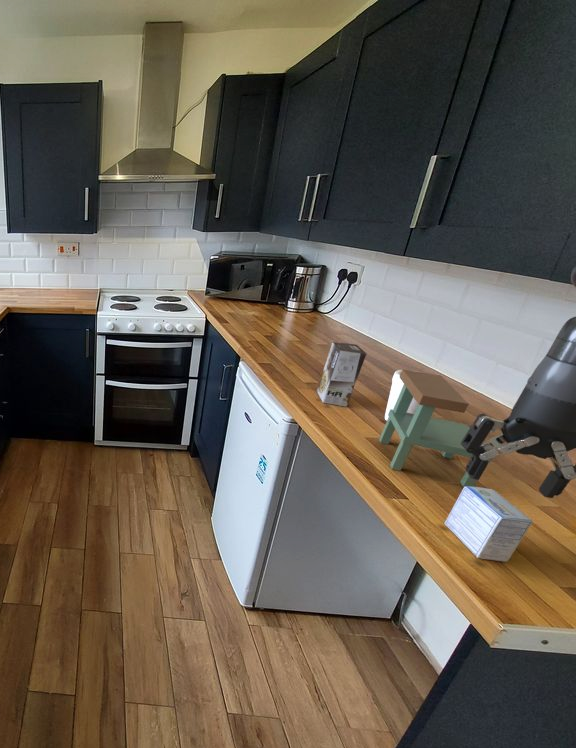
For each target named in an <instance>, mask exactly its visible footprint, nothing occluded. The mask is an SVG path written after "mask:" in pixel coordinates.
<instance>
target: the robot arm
mask: <svg viewBox="0 0 576 748" xmlns="http://www.w3.org/2000/svg"><path fill="white" fill-rule="evenodd" d="M570 279H571V280H570V281H571V284H572V286H573V287H574V288H575V289H576V264H575V265H574V267H573V268H572V271H571V274H570ZM469 428H470V429H469V430H468V432H467V434H466V435H465V437H464V438H463V440H462V441H461V444H462V446H463V447H464V448H465V450H466V451H467V452H468V453H471V454H472V456H471V458H470V457H469V460H468V462H467V464H466V465H465V472H466V471H467V472H468V475H469V476H470V477H471V479H475V480H478V481H479V480H480V479H481V477H482V475H483V473H484V472H485V470H486V468H487V467H488V465H489V463H490V462H489V461H488V460H489V459H491V458H493V459H494V458H496V457H499V456H506V455H509V454H511V453H514V452H516V453H517V454H520V455H525V456H534V457H536V458H539V459H544V460H547V459H550V461H551V463H552V465H553V467H554V469H555V470H549V472H548V474H547V475H546V477H545V478H544V479H543V481H542V483H541V485H540V486H539V488H538V491H539V493H540V494H541V495H542V496H543V497H545V498H548V499H553V498H554V497H555V496H556V497H558V496H560V495H561V494H562V493H563V491H565V488H566V487H567V485H568V484H569V483H570V481H572V480H575V479H576V463H574V464H573V462H572V460H571V458H570V455H569V453H568V452H569V451H572V450H574V449H576V316H573V317H571V318H569V319H568V320H567V321H566V322H565V323H564V324H563V325H562V327H561V328H560V330H559V332H558V333H557V334H556V337H555V338H554V340H553V343H552V344H551V346H550V347H549V349H548V351H547V353H546V354H545V356H544V357H543V358H542V360H541V361H540V362H539V364H538V365H536V367H535V369H534V370H533V372H532V374H531V375H530V377H528V378H527V381H526V384H525V385H524V387H523V389H522V391H521V393H520V395H519V396H518V398H517V400H516V402H515V403H514V405H513V407H512V409H511V411H510V414H509V416H508V417H506V418H504V420H501V419H497V418H492V417H489V416H488V415H487V414H486V413H480V414H478V415H477V416H476V418H475V420H474V421H473V422H472V424H471V426H469ZM499 429H500V431H501V433H499V434H497V435H495V436H493V437H490V438H489V439H488V440H487V441H485V440H486V438H487V437H488V436H489V434H490V433H491V434H492V433H495V432H496V431H497V430H499ZM484 441H485V442H484ZM482 443H483V444H482ZM504 443H505V444H504Z"/></svg>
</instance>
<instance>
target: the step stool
mask: <svg viewBox="0 0 576 748" xmlns="http://www.w3.org/2000/svg"><path fill="white" fill-rule="evenodd" d="M401 370H402V372H401V374H400V377H399V378H400V379H401V380H402V382H403V383H404V385H403V387H402V390H401V392H400V394H399V397H398V399H397V402H396V404H395V406H394V409H393V410H391V409H390V411H389V414H388V416H389V417H388V419H387V421H386V422H385V424H384V427H383V429H382V431H381V434H380V436H379V439H378V441H379V443H380V444H384V445H389V444H390V441H391V439H392V437H393V435H394V432H395V431H396V433H397V435H398V437H399V439H400V442H399V444H398V446H397V448H396V451H395V453H394V455H393V458H392V459H391V462H390V464H389V465H390V469H391V470H394V471H398V472H401V471H402V468H403V466H404V464H405V462H406V460H407V458H408V455H409V453H410V451H411V449H412V447H413V446H415V447H421V448H425V449H429V450H434V451H439V452H441V455H442V457H443V458H446V459H450V460H453V459H454V456H455V455H457V456H461V457H466V458H469V459H470V458H471V456H472V454H471V453H468V452H467V451H466V450H465V448H464V447H463V446H462V444H461V441H462V440H463V438H464V437H465V435H466V434H467V432H468V430H469V429H470V426H469V425H468V424H467V423H461V422H457V421H451V420H447V419H442V418H436V417H432V416H433V414H434V411H435V410H436V409H441V410H445V411H450V412H457V413H462V414H465V413H466V410H467V409H468V406H469V405H470V404H469V402H467V400H466V399H465V398H464V397H463V396H462V395H461V394H460V393H459V392H458V391H457V390H456V389H455V388H454V387H453V386H452V385H451V384H450V383H449V382H448V381H447V380H446V379H445V378H444V377H443V376H442V375H439V374H434V373H427V372H421V371H417V372H416V370H410V369H401ZM413 397H414V399H415V400H416V401H417V403H418V404H419V405H418V407H417V409H416V412H415V414H411V413H407V410H408V408H409V406H410V404H411V401H412V399H413ZM483 443H484V442H483ZM483 443H482V444H483ZM493 459H494V458H491V459H489V460H488V461H489V463H492V461H493ZM478 481H479V480H475V479H471V477H470V476H469V475H468V472H467V471H466V470H465V473H464V474H463V476H462V478H461V479H460V482H459V483H460V484H461V486H462V487H463V488H464V487H465V486H469V487H476V485H477V483H478Z"/></svg>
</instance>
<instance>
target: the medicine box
mask: <svg viewBox="0 0 576 748" xmlns="http://www.w3.org/2000/svg"><path fill="white" fill-rule="evenodd" d="M533 523H534V522H533V520H532V519H531V518H530V517H529V516H527V515H526V514H525V513H524V512H522V511H521V509H519V508H517V507H516V506H515V505H514V504H512V503H511V502H510V501H509V500H507V499H506V498H505V497H504V496H502V495H501V494H500V493H498V492H497V491H496V490H494V489H493V488H488V487H487V488H486V487H479V486H474V487H469V486H465V487H463V488H462V490H461V492H460V494H459V496H458V498H457V500H456V502H455V503H454V505H453V507H452V508H451V511H450V512H449V514H448V516H447V518H446V520H445V522H444V525H445V526H446V528H448V529H449V530H450V532H451V533H452V534H453V535H455V536H456V537H457V538H458V539H459V540H460V542H462V544H463V545H464V546H465V547H466V548H468V550H469V551H470V552H471V553H472V554H473V555H474V556H475V557H476V558H477V559H481V560H489V561H495V562H496V561H497V562H503V563H507V562H509V561H510V559H511V557H512V556H513V554H514V553H515V551H516V550H517V548H518V546H519V545H520V543H521V541H522V540H523V538H524V537H525V535H526V533H527V532H528V530H529V529H530V527H531V526H532V524H533Z"/></svg>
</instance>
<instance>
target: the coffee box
mask: <svg viewBox="0 0 576 748" xmlns="http://www.w3.org/2000/svg"><path fill="white" fill-rule="evenodd" d="M366 356H367V352H366V351H364V350H363V349H362V348H361V347H360V346H359V345H358V344H355V343H347V342H336V341H332V343H331V345H330V349H329V351H328V355H327V358H326V361H325V365H324V367H323V370H322V373H321V377H320V380H319V383H318V386H317V389H316V392H317V394H318V396H319V399H320V400H321V402H322V403H323V404H328V405H334V406H339V407H345V408H346V407H347V406H348V404H349V402H350V399H351V397H352V394H353V391H354V388H355V386H356V383H357V380H358V377H359V374H360V372H361V370H362V367H363V364H364V362H365V359H366Z"/></svg>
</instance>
